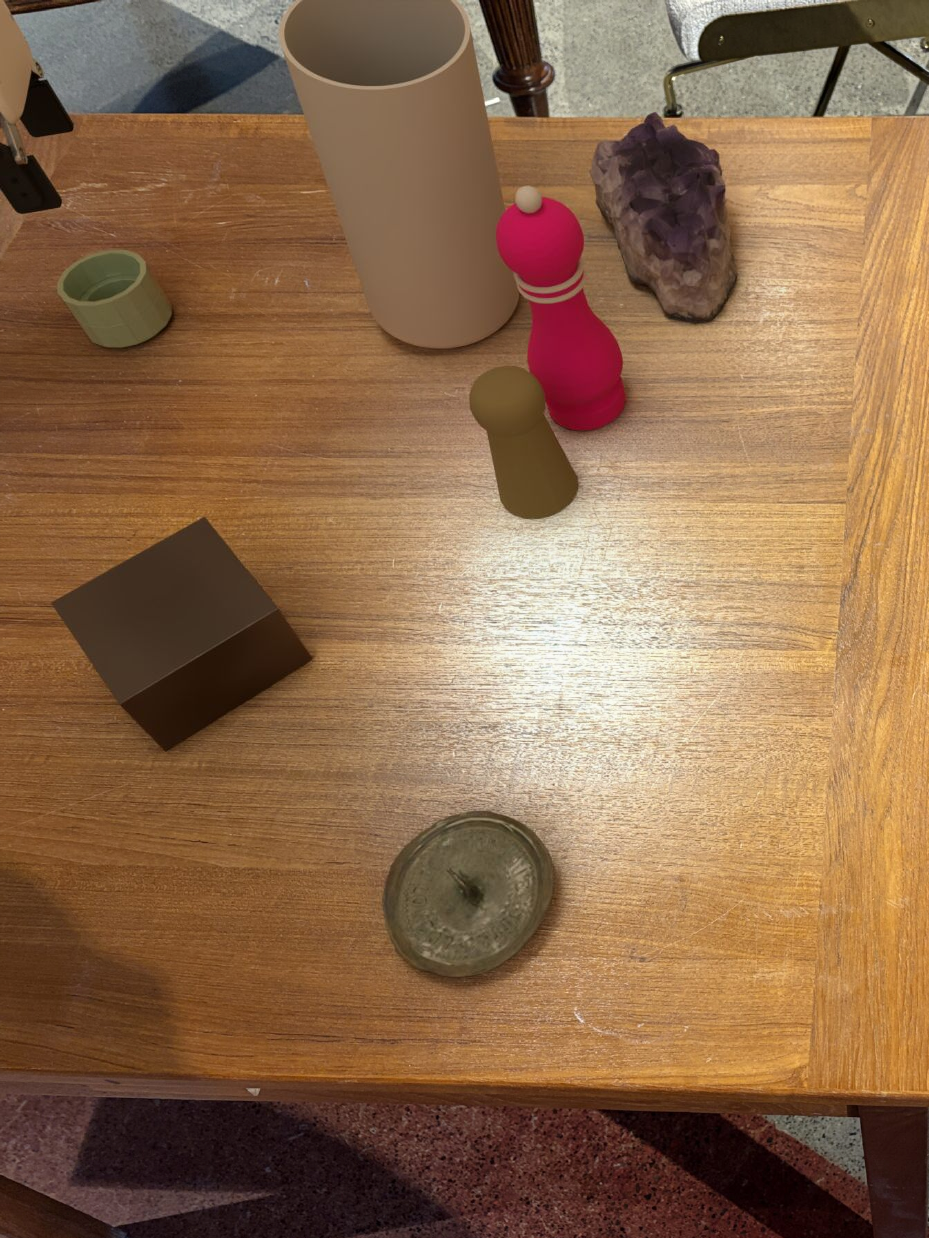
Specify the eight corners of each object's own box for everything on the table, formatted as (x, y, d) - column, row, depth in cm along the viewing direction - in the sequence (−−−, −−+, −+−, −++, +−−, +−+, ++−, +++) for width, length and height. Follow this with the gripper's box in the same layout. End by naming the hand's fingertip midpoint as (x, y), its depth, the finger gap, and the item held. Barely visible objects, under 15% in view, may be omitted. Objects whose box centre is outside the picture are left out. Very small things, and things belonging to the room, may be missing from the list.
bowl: (110, 364, 107) (77, 317, 102) (76, 323, 110) (43, 275, 105) (188, 325, 109) (160, 277, 105) (153, 285, 112) (124, 238, 108)
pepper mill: (574, 450, 100) (507, 236, 83) (525, 401, 103) (451, 186, 87) (650, 405, 103) (599, 190, 86) (599, 359, 106) (541, 143, 89)
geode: (784, 302, 109) (759, 210, 101) (658, 352, 108) (622, 263, 100) (712, 162, 119) (684, 67, 111) (596, 206, 118) (558, 114, 110)
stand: (165, 752, 85) (119, 704, 80) (97, 653, 90) (50, 602, 85) (313, 659, 89) (278, 608, 84) (241, 569, 94) (204, 515, 89)
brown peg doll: (491, 474, 99) (448, 367, 90) (566, 450, 100) (532, 342, 91) (510, 528, 96) (467, 424, 87) (588, 503, 97) (554, 397, 88)
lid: (569, 840, 83) (548, 787, 79) (557, 967, 75) (534, 915, 72) (407, 864, 82) (379, 812, 79) (378, 994, 75) (347, 943, 72)
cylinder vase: (524, 247, 113) (476, -22, 91) (516, 354, 107) (462, 93, 85) (377, 244, 111) (292, -31, 90) (360, 352, 105) (265, 85, 84)
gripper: (-141, -118, 86) (8, 114, 101) (-192, 15, 77) (-20, 250, 91) (-24, -134, 87) (108, 98, 102) (-61, -5, 78) (90, 231, 92)
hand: (47, 169), depth 96 cm, fingers open, 9 cm apart
